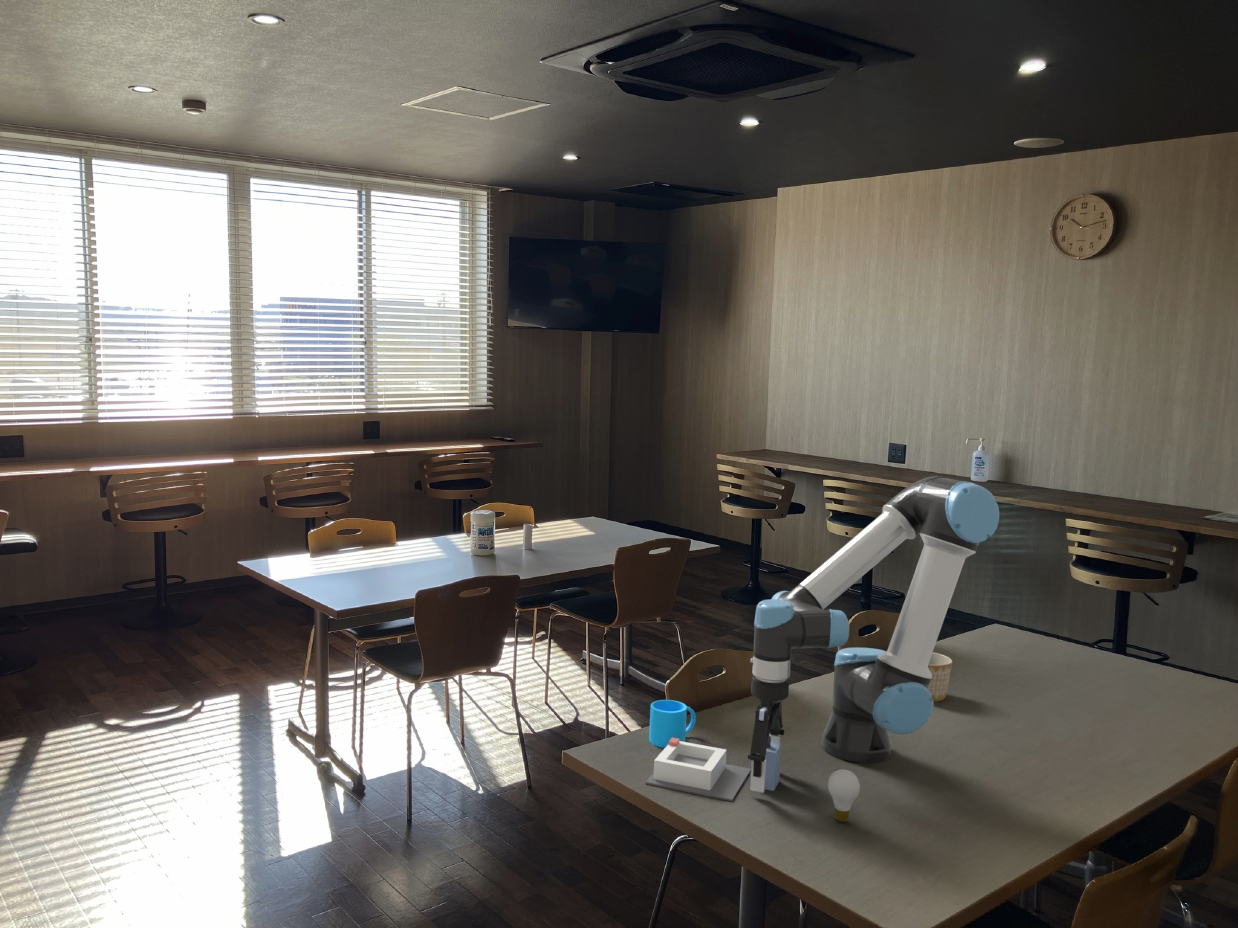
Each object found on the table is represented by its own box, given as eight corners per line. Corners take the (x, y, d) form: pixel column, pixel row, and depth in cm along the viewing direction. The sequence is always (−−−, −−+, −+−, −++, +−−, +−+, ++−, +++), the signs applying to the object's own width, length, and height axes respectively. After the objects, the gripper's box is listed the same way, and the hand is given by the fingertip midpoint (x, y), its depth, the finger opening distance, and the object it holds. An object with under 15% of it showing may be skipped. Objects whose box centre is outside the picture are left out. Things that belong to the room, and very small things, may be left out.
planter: (954, 694, 256) (957, 656, 255) (942, 707, 245) (945, 668, 244) (907, 684, 263) (909, 647, 262) (893, 696, 252) (896, 658, 251)
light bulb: (821, 814, 183) (824, 763, 182) (851, 814, 184) (854, 764, 183) (831, 828, 177) (834, 777, 176) (861, 828, 178) (865, 777, 177)
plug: (778, 781, 197) (781, 734, 196) (773, 790, 192) (776, 743, 191) (755, 776, 199) (757, 730, 198) (749, 786, 194) (752, 738, 193)
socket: (750, 770, 202) (752, 746, 201) (731, 801, 187) (733, 775, 186) (670, 754, 208) (671, 731, 208) (645, 783, 193) (646, 758, 193)
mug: (663, 750, 210) (665, 714, 210) (642, 738, 217) (643, 703, 216) (705, 740, 217) (707, 705, 216) (683, 728, 224) (685, 694, 223)
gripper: (765, 657, 206) (760, 752, 208) (737, 692, 183) (731, 798, 185) (800, 662, 204) (794, 758, 206) (776, 698, 180) (769, 806, 183)
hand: (764, 777), depth 196 cm, fingers open, 13 cm apart
